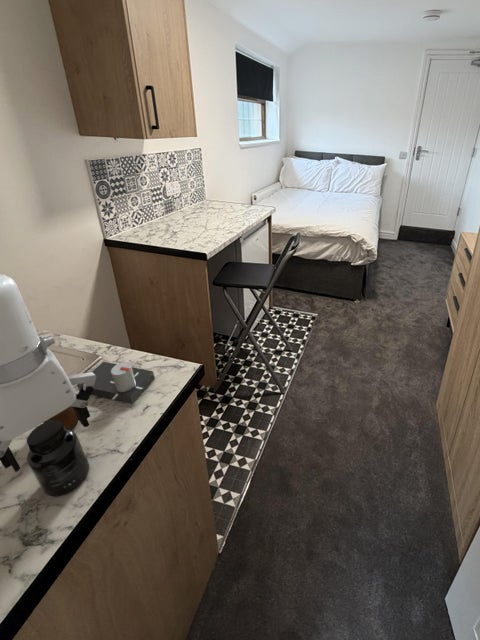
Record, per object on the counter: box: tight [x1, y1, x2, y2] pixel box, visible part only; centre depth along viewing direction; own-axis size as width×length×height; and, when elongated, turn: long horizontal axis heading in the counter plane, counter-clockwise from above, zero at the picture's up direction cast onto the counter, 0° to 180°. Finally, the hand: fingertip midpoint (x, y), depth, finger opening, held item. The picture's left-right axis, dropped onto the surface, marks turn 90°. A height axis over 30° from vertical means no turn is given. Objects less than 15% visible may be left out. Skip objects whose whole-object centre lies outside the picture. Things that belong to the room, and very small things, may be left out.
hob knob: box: [111, 361, 136, 392], centre depth 72 cm, size 4×4×5 cm
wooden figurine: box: [42, 406, 80, 430], centre depth 63 cm, size 7×6×15 cm
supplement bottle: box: [26, 420, 90, 498], centre depth 54 cm, size 7×7×12 cm
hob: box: [76, 361, 156, 405], centre depth 75 cm, size 15×10×3 cm, turn 77°
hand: (51, 442), depth 53 cm, fingers open, 9 cm apart
